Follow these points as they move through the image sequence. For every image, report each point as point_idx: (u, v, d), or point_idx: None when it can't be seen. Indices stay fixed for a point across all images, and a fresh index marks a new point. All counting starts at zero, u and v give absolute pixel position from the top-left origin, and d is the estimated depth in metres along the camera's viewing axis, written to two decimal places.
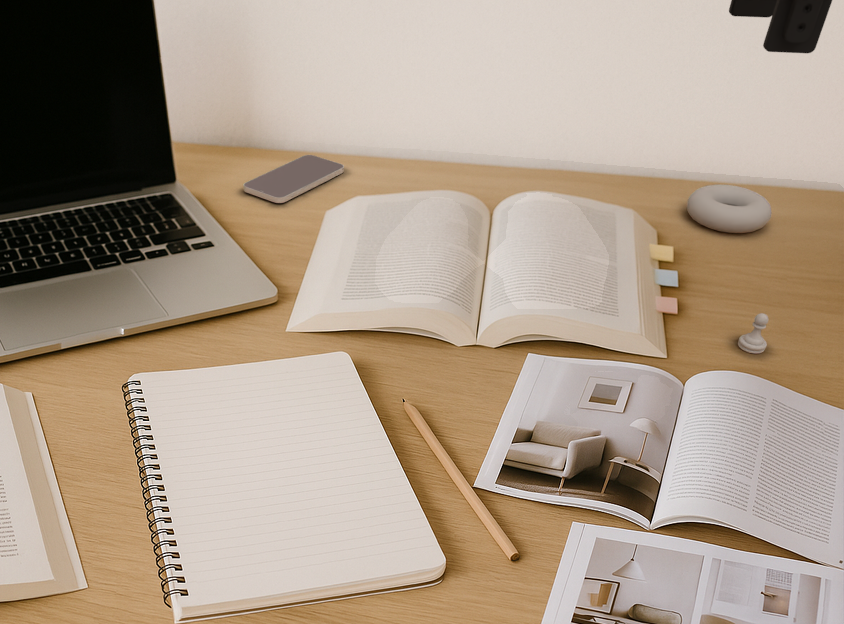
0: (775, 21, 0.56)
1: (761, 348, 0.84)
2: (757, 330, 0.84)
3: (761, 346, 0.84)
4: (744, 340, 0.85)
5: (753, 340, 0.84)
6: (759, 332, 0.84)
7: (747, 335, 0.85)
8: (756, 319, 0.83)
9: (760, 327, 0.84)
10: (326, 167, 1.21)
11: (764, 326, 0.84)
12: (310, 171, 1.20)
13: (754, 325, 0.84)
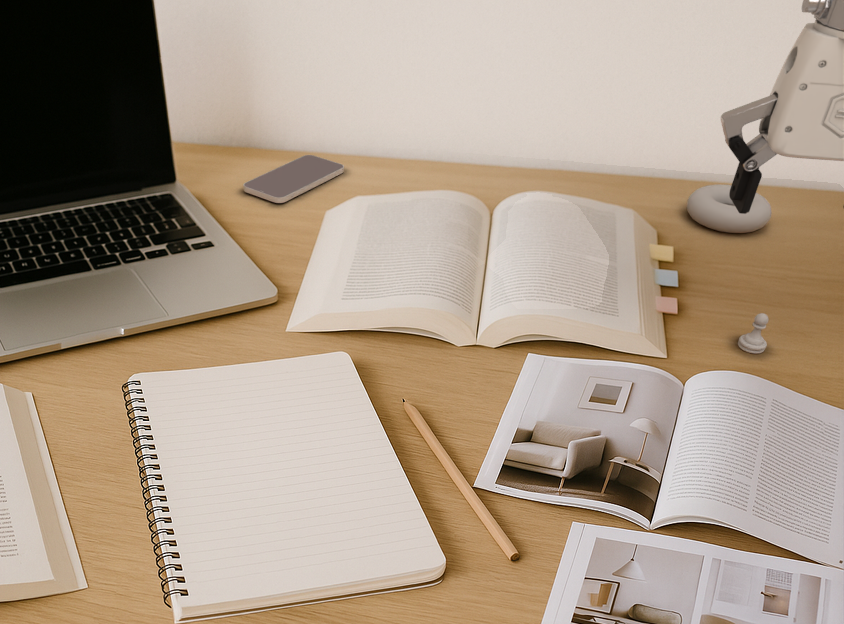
0: None
1: (761, 348, 0.84)
2: (757, 330, 0.84)
3: (761, 346, 0.84)
4: (744, 340, 0.85)
5: (753, 340, 0.84)
6: (759, 332, 0.84)
7: (747, 335, 0.85)
8: (756, 319, 0.83)
9: (760, 327, 0.84)
10: (326, 167, 1.21)
11: (764, 326, 0.84)
12: (310, 171, 1.20)
13: (754, 325, 0.84)
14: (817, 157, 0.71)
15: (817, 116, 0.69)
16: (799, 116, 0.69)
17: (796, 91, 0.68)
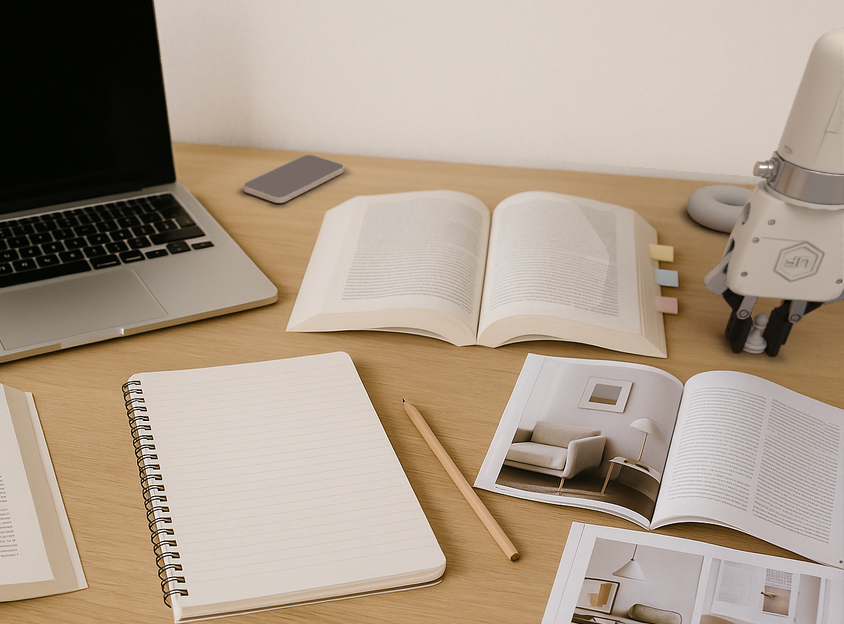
0: None
1: (761, 348, 0.84)
2: (757, 330, 0.84)
3: (761, 346, 0.84)
4: None
5: (753, 340, 0.84)
6: (759, 332, 0.84)
7: None
8: (756, 319, 0.83)
9: (760, 327, 0.84)
10: (326, 167, 1.21)
11: (764, 326, 0.84)
12: (310, 171, 1.20)
13: (754, 325, 0.84)
14: (770, 297, 0.79)
15: (769, 264, 0.77)
16: (753, 264, 0.78)
17: (750, 243, 0.77)
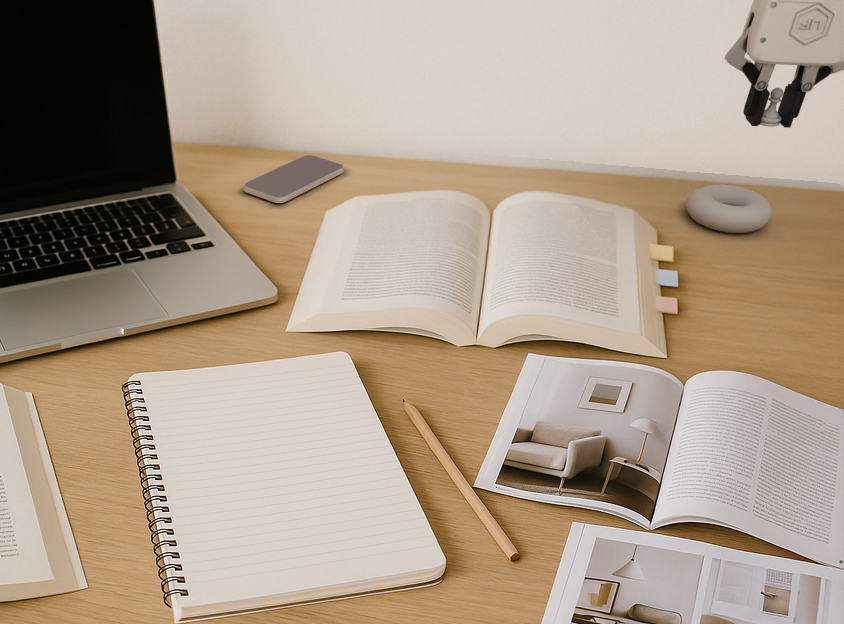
0: None
1: (777, 120, 0.94)
2: (773, 104, 0.94)
3: (777, 119, 0.94)
4: None
5: (769, 114, 0.94)
6: (774, 106, 0.94)
7: (764, 111, 0.95)
8: (772, 93, 0.93)
9: (776, 100, 0.94)
10: (326, 167, 1.21)
11: (779, 99, 0.94)
12: (310, 171, 1.20)
13: (770, 99, 0.94)
14: (786, 62, 0.89)
15: (785, 28, 0.87)
16: (771, 29, 0.88)
17: (768, 9, 0.87)
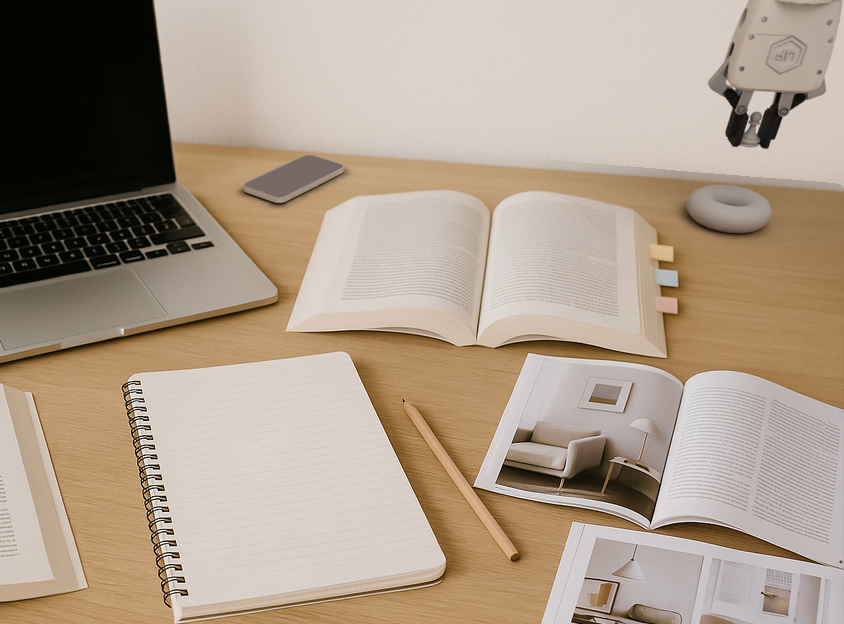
0: None
1: (755, 142, 1.01)
2: (752, 127, 1.01)
3: (755, 140, 1.02)
4: None
5: (749, 135, 1.02)
6: (754, 128, 1.01)
7: (744, 133, 1.02)
8: (751, 116, 1.01)
9: (755, 123, 1.01)
10: (326, 167, 1.21)
11: (758, 122, 1.01)
12: (310, 171, 1.20)
13: (750, 122, 1.01)
14: (763, 89, 0.96)
15: (762, 58, 0.95)
16: (749, 59, 0.95)
17: (746, 40, 0.94)
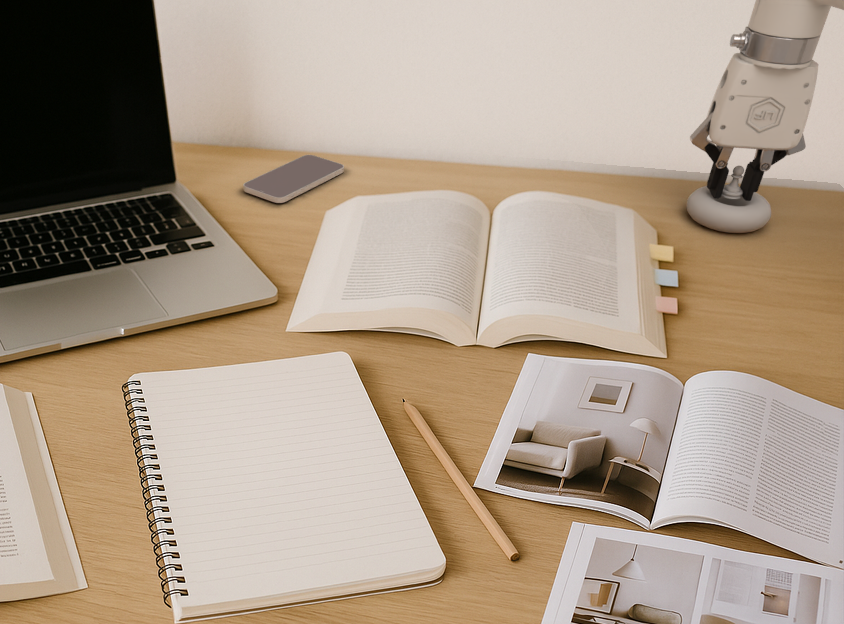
0: None
1: (738, 194, 1.06)
2: (735, 180, 1.05)
3: (738, 193, 1.06)
4: (725, 189, 1.06)
5: (732, 188, 1.06)
6: (736, 181, 1.05)
7: (727, 185, 1.06)
8: (734, 170, 1.05)
9: (737, 177, 1.05)
10: (326, 167, 1.21)
11: (740, 176, 1.05)
12: (310, 171, 1.20)
13: (732, 175, 1.05)
14: (743, 146, 1.01)
15: (742, 118, 0.99)
16: (730, 118, 0.99)
17: (727, 101, 0.98)
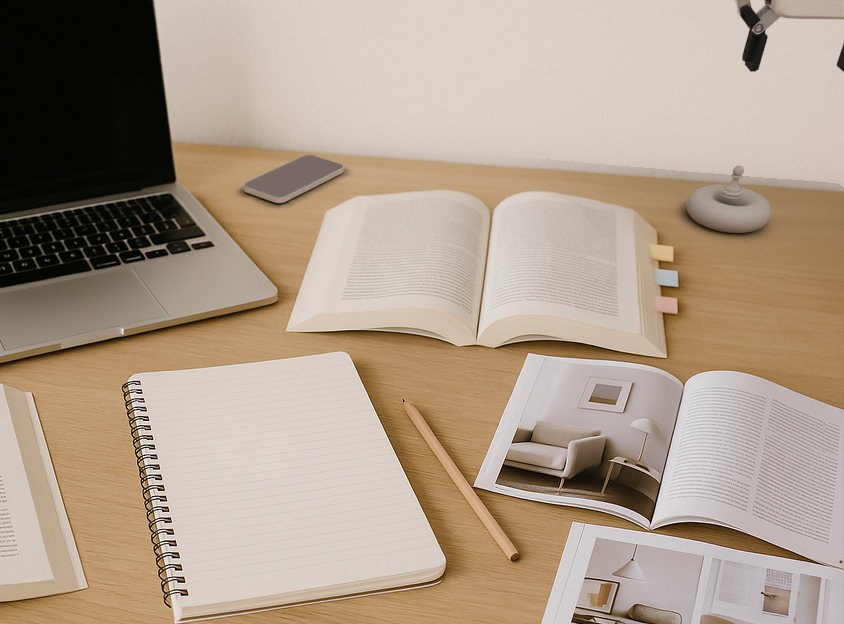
0: None
1: (738, 194, 1.06)
2: (735, 180, 1.05)
3: (738, 193, 1.06)
4: (725, 189, 1.06)
5: (732, 188, 1.06)
6: (736, 181, 1.05)
7: (727, 185, 1.06)
8: (734, 170, 1.05)
9: (737, 177, 1.05)
10: (326, 167, 1.21)
11: (740, 176, 1.05)
12: (310, 171, 1.20)
13: (732, 175, 1.05)
14: (811, 17, 0.89)
15: None
16: None
17: None
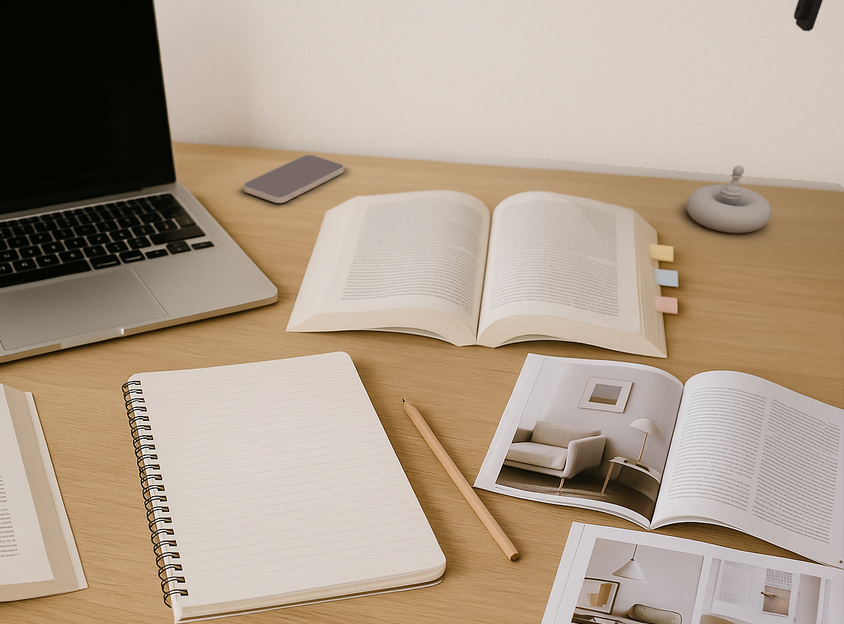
0: None
1: (738, 194, 1.06)
2: (735, 180, 1.05)
3: (738, 193, 1.06)
4: (725, 189, 1.06)
5: (732, 188, 1.06)
6: (736, 181, 1.05)
7: (727, 185, 1.06)
8: (734, 170, 1.05)
9: (737, 177, 1.05)
10: (326, 167, 1.21)
11: (740, 176, 1.05)
12: (310, 171, 1.20)
13: (732, 175, 1.05)
14: None
15: None
16: None
17: None
